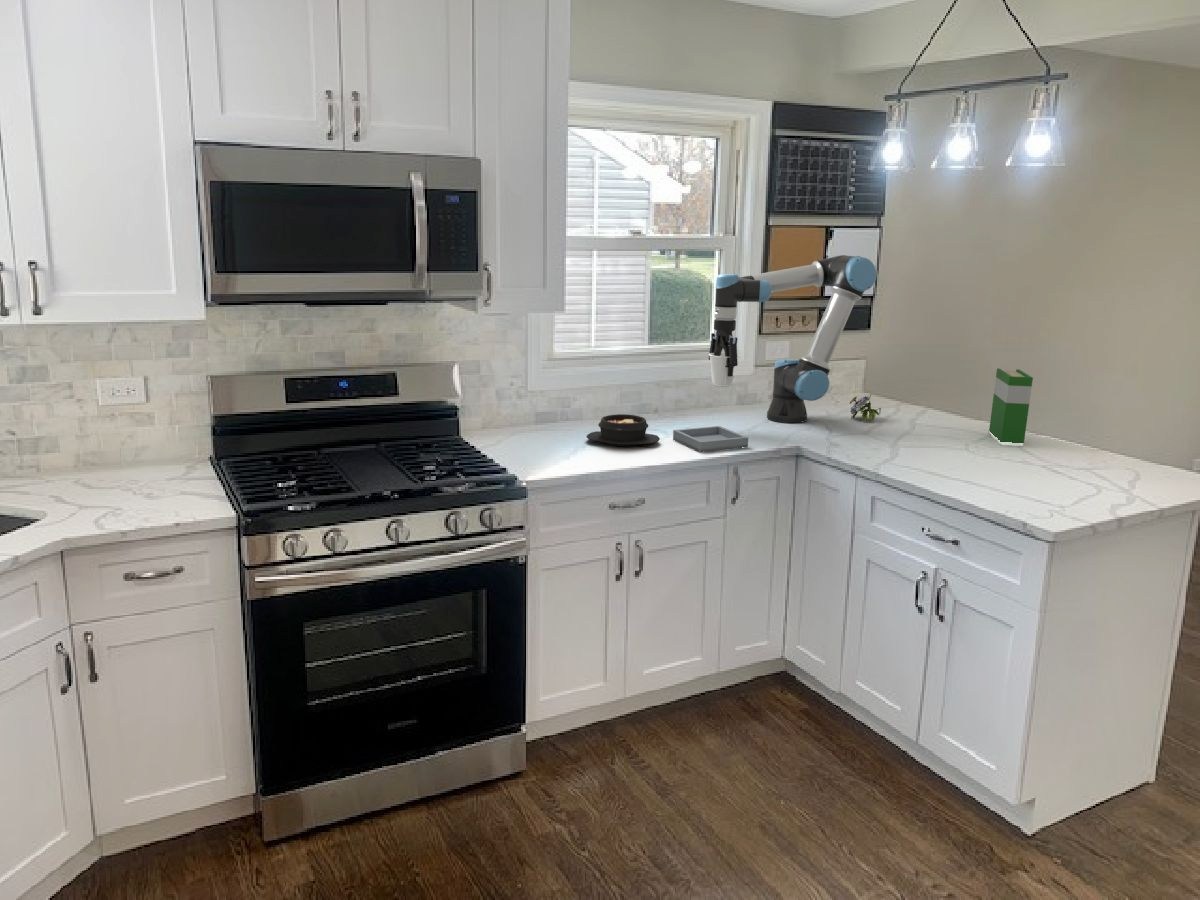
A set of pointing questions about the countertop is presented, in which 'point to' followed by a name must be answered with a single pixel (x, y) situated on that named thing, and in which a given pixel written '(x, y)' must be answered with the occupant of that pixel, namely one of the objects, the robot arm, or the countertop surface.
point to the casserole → (623, 431)
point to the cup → (718, 369)
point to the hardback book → (1010, 405)
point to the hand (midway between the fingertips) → (721, 383)
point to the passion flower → (861, 406)
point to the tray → (710, 438)
